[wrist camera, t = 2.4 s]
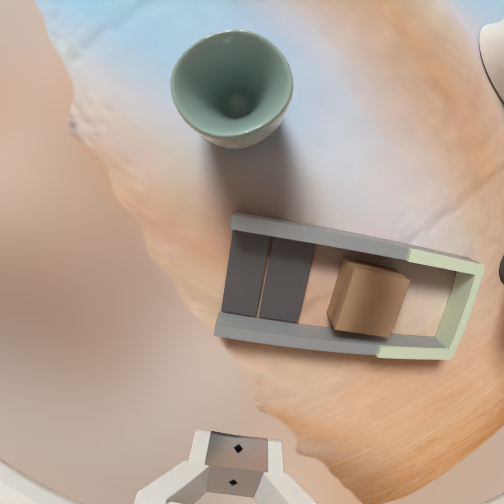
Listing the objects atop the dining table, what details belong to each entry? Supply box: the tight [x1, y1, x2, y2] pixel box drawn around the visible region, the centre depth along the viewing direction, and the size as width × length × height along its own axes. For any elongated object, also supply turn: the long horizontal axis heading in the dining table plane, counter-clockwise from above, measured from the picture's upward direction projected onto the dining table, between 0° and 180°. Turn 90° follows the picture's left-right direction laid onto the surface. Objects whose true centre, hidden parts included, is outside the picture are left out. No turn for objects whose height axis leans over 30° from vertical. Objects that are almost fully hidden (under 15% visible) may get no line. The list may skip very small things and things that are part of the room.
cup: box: [171, 30, 293, 149], centre depth 22 cm, size 8×8×10 cm
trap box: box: [214, 212, 485, 360], centre depth 28 cm, size 27×11×4 cm, turn 81°
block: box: [327, 258, 410, 337], centre depth 28 cm, size 6×6×4 cm
